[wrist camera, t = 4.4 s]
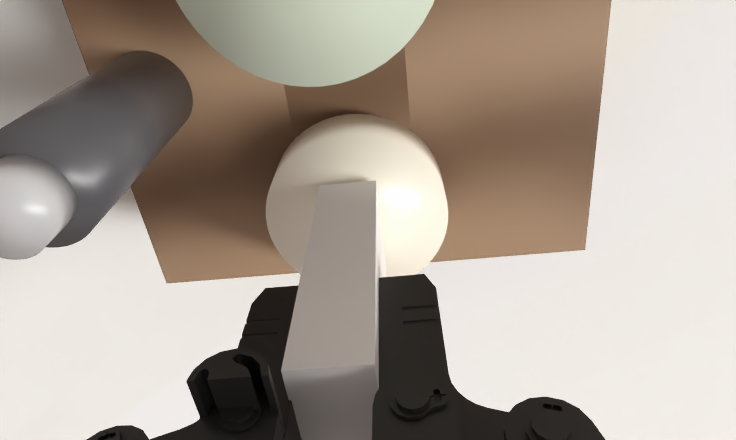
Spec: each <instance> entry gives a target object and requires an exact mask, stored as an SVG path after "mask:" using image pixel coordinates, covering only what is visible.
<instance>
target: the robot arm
mask: <svg viewBox="0 0 736 440" xmlns="http://www.w3.org/2000/svg"><path fill="white" fill-rule="evenodd" d="M186 382H187V384H188V387H189V389H190V392H191V394H192V397H193V400H194V402H195V405H196V407H197V410H198V412H199V415H200V419H199V420H198V421H197V422H195V423H194V424H191V425H189V426H187V427H184V428H182V429H180V430H177V431H174V432H171V433H168V434H165V435H162V436H159V437H156V438H153V439H150V440H605V439H604V437H603V436H602V434H601V433H600V432H599V430H598V429H597V427H596V426H595V425H594V423H593V422H592V421H591V420H590V419H589V418H588V417H587V416H586V415H585V414H584V413H583V412H582V411H581V410H580V409H579V408H577V407H575V406H573V405H571V404H569V403H567V402H566V401H564V400H559V399H554V398H549V397H538V398H529V399H527V400H525V401H523V402H520V403H518V404H516V405H515V406H514V407H513V408H512V410H511V411H510V412H504V411H500V410H495V409H490V408H487V407H483V406H480V405H477V404H475V403H473V402H471V401H469V400H468V399H466V398H465V397H463V396H462V395H461V394H460V393H459V392H458V391H457V390H456V389H455V387H454V386H453V384H452V383H451V380H450V377H449V374H448V367H447V360H446V353H445V346H444V340H443V333H442V326H441V320H440V313H439V307H438V299H437V292H436V287H435V286H434V285H433V284H432V283H431V281H430V280H429V279H428V278H427V277H426V276H425V274H418V275H405V276H393V277H386V260H385V251H384V243H383V234H382V225H381V217H380V208H379V200H378V191H377V182H376V180H375V181H364V182H353V183H343V184H332V185H321V186H319V191H318V195H317V200H316V205H315V210H314V215H313V219H312V224H311V229H310V234H309V239H308V243H307V248H306V253H305V258H304V263H303V267H302V272H301V277H300V282H299V286H288V287H275V288H265V290H264V291H263V292H262V293H261V294H260V295H259V296H258V297H257V299H256V300H255V301H254V302H253V303H252V305H251V308H250V311H249V314H248V317H247V324H245V327H244V330H243V333H242V338H241V340H240V343H239V346H238V349H232V350H228V351H223V352H220V353H218V354H216V355H214V356H211V357H209V358H207V359H206V360H204V361H203V362H202V363H201V364H200V365H199V366H197V367H196V368H195V369H194V370H193V372H192V373H191V375H190V376H189V378H188V380H187V381H186ZM87 440H149V439H148V437H147V436H146V434H145V433H144V431H143V430H141V429H139V428H136V427H134V426H132V425H130V426H115V427H112V428H109V429H106V430H103V431H100V432H98V433H97V434H95V435H93V436H92V437H90V438H89V439H87Z"/></svg>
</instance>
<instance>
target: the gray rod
mask: <svg viewBox="0 0 736 440" xmlns="http://www.w3.org/2000/svg"><path fill="white" fill-rule="evenodd" d="M192 106H193V96H192V91H191V87H190V84H189V82H188V80H187V78H186V77H185V75H184V74H183V72H182V71H181V70H180V69H179V68H178V67H177V66H176V65H175V64H174V63H173V62H172V61H170V60H169V59H167V58H166V57H164V56H162V55H160V54H157V53H154V52H150V51H132V52H128V53H125V54H124V55H122V56H120V57H118V58H117V59H115V60H113V61H112V62H110V63H108V64H107V65H105V66H103V67H102V68H100V69H99V70H97V71H95V72H94V73H92V74H90V75H89V76H87V77H85V78H84V79H82V80H80V81H79V82H77V83H75V84H74V85H72V86H71V87H69V88H67V89H66V90H64V91H62V92H61V93H59V94H57V95H56V96H54V97H52V98H51V99H49V100H48V101H46V102H44V103H43V104H41V105H39V106H38V107H36V108H34V109H33V110H31V111H29V112H28V113H26V114H24V115H23V116H21V117H20V118H18V119H16V120H15V121H13V122H11V123H10V124H8V125H6V126H5V127H3V128H1V129H0V257H1V258H6V259H14V260H17V259H26V258H30V257H33V256H35V255H37V254H38V253H40V252H41V251H42V250H43V249H44V248H45V247H63V246H68V245H71V244H74V243H76V242H78V241H80V240H82V239H83V238H85V237H86V236H87V235H88V234H89V233H90V232H91V231H92V229H93V228H94V227H95V226H96V225H97V224H98V222H99V221H100V220H101V219H102V218H103V217H104V216H105V214H106V213H107V212H108V211H109V210H110V209H111V208H112V206H113V205H114V204H115V203H116V202H117V201H118V199H119V198H120V197H121V196H122V195H123V194H124V193H125V191H126V190H127V189H128V188H129V187H130V186H131V185H132V183H133V182H134V181H135V180H136V179H137V178H138V177H139V175H140V174H141V173H142V172H143V171H144V170H145V168H146V167H147V166H148V165H149V164H150V163H151V162H152V160H153V159H154V158H155V157H156V156H157V155H158V154H159V152H160V151H161V150H162V149H163V148H164V147H165V145H166V144H167V143H168V142H169V141H170V140H171V139H172V137H173V136H174V135H175V134H176V133H177V132H178V131H179V129H180V128H181V127H182V126H183V125H184V124H185V122H186V121H187V120H188V118H189V116H190V114H191V111H192Z"/></svg>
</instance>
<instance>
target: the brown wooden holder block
mask: <svg viewBox="0 0 736 440" xmlns="http://www.w3.org/2000/svg"><path fill="white" fill-rule="evenodd" d="M62 2H63V5H64V7H65V10H66V13H67V15H68V18H69V21H70V24H71V26H72V29H73V32H74V34H75V37H76V40H77V42H78V45H79V48H80V51H81V53H82V56H83V59H84V61H85V64H86V67H87V69H88V72H89V75H90V74H92V73H94V72H95V71H97V70H99V69H100V68H102V67H103V66H105V65H107V64H108V63H110V62H112V61H113V60H115V59H117V58H118V57H120V56H122V55H124V54H125V53H128V52H132V51H150V52H154V53H157V54H160V55H162V56H164V57H166V58H167V59H169V60H170V61H172V62H173V63H174V64H175V65H176V66H177V67H178V68H179V69H180V70H181V71H182V72H183V74H184V75H185V77H186V78H187V80H188V82H189V84H190V87H191V91H192V96H193V106H192V111H191V114H190V116H189V118H188V120H187V121H186V122H185V124H184V125H183V126H182V127H181V128H180V129H179V131H178V132H177V133H176V134H175V135H174V136H173V137H172V139H171V140H170V141H169V142H168V143H167V144H166V145H165V147H164V148H163V149H162V150H161V151H160V152H159V154H158V155H157V156H156V157H155V158H154V159H153V160H152V162H151V163H150V164H149V165H148V166H147V167H146V168H145V170H144V171H143V172H142V173H141V174H140V175H139V177H138V178H137V179H136V180H135V181H134V182H133V183H132V185H131V188H132V191H133V194H134V196H135V199H136V202H137V204H138V207H139V210H140V213H141V215H142V218H143V221H144V223H145V226H146V229H147V231H148V234H149V237H150V240H151V242H152V245H153V248H154V250H155V253H156V256H157V258H158V261H159V264H160V267H161V269H162V272H163V275H164V277H165V280H166V283H177V282H189V281H202V280H214V279H227V278H239V277H252V276H264V275H277V274H289V273H298V272H297V271H295V270H294V269H293V268H292V267H291V266H290V265H289V264H288V263H287V262H286V261H285V260H284V259H283V257H282V256H281V255H280V253H279V252H278V250H277V249H276V247H275V246H274V244H273V241H272V239H271V237H270V234H269V231H268V228H267V222H266V201H267V196H268V192H269V189H270V186H271V183H272V181H273V178H274V175H275V173H276V170H277V167H278V165H279V162H280V160H281V158H282V156H283V154H284V152H285V151H286V149H287V148H288V146H289V145H290V144H291V143H292V142H293V141H294V139H295V138H296V137H297V136H299V135H300V134H301V133H302V132H303V131H305V130H306V129H308V128H309V127H311V126H312V125H314V124H316V123H318V122H321V121H323V120H325V119H328V118H332V117H335V116H340V115H346V114H368V115H375V116H379V117H384V118H386V119H389V120H392V121H395V122H397V123H399V124H401V125H403V126H405V127H406V128H407V129H409V130H410V131H412V132H413V133H415V134H416V135H417V136H418V137H419V138H420V139H421V140H422V141H423V142H424V143H425V144H426V146H427V147H428V148H429V149H430V151H431V152H432V154H433V156H434V157H435V159H436V162H437V164H438V166H439V169H440V173H441V176H442V181H443V185H444V190H445V194H446V199H447V205H448V225H447V230H446V234H445V237H444V240H443V243H442V244H441V246H440V248H439V250H438V252H437V253H436V255H435V256H434V258H433V259H432V260H431V261H430V262H439V261H451V260H464V259H476V258H489V257H501V256H514V255H526V254H539V253H551V252H564V251H576V250H585V244H586V235H587V225H588V216H589V207H590V197H591V188H592V178H593V169H594V159H595V150H596V140H597V131H598V122H599V112H600V103H601V93H602V84H603V74H604V65H605V55H606V46H607V37H608V27H609V18H610V8H611V0H434V3H433V5H432V7H431V9H430V11H429V13H428V15H427V16H426V18H425V20H424V22H423V23H422V25H421V26H420V28H419V29H418V30H417V32H416V33H415V34H414V36H413V37H412V38H411V39H410V41H409V42H408V43H407V44H406V45H405V46H404V47H403V48H402V49H401V50H400V51H399V52H398V53H397V54H395V55H394V56H393V57H392V58H391V59H389V60H388V61H387V62H386V63H384V64H383V65H381V66H379V67H378V68H376V69H375V70H373V71H371V72H369V73H367V74H365V75H363V76H361V77H358V78H356V79H353V80H350V81H347V82H343V83H340V84H334V85H329V86H320V87H301V86H290V85H285V84H281V83H276V82H272V81H269V80H267V79H264V78H261V77H258V76H256V75H254V74H252V73H250V72H248V71H246V70H243V69H241V68H240V67H238V66H237V65H235V64H234V63H232V62H231V61H229V60H227V59H226V58H225V57H223V56H222V55H221V54H220V53H219V52H217V51H216V50H215V49H214V48H213V47H211V46H210V45H209V44H208V43H207V42H206V40H205V39H204V38H203V37H202V36H201V35H200V34H199V33H198V32H197V31H196V30H195V28H194V27H193V26H192V24H191V23H190V22H189V20H188V19H187V18H186V16H185V15H184V13H183V11H182V10H181V8H180V7H179V5H178V3H177V2H176V0H62Z"/></svg>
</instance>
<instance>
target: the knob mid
mask: <svg viewBox="0 0 736 440" xmlns="http://www.w3.org/2000/svg"><path fill="white" fill-rule="evenodd" d="M176 2H177V3H178V5H179V7H180V8H181V10H182V11H183V13H184V15H185V16H186V18H187V19H188V20H189V22H190V23H191V24H192V26H193V27H194V28H195V30H196V31H197V32H198V33H199V34H200V35H201V36H202V37H203V38H204V39H205V40H206V42H207V43H208V44H209V45H210V46H211V47H213V48H214V49H215V50H216V51H217V52H219V53H220V54H221V55H222V56H223V57H225V58H226V59H227V60H229V61H231V62H232V63H234V64H235V65H237V66H238V67H240V68H241V69H243V70H246V71H248V72H250V73H252V74H254V75H256V76H258V77H261V78H264V79H267V80H269V81H272V82H276V83H281V84H285V85H290V86H301V87H320V86H329V85H334V84H340V83H343V82H347V81H350V80H353V79H356V78H358V77H361V76H363V75H365V74H367V73H369V72H371V71H373V70H375V69H376V68H378V67H379V66H381V65H383V64H384V63H386V62H387V61H388V60H389V59H391V58H392V57H393V56H394V55H395V54H397V53H398V52H399V51H400V50H401V49H402V48H403V47H404V46H405V45H406V44H407V43H408V42H409V41H410V39H411V38H412V37H413V36H414V34H415V33H416V32H417V30H418V29H419V28H420V26H421V25H422V23H423V22H424V20H425V18H426V16H427V15H428V13H429V11H430V9H431V7H432V5H433V3H434V0H176Z"/></svg>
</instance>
